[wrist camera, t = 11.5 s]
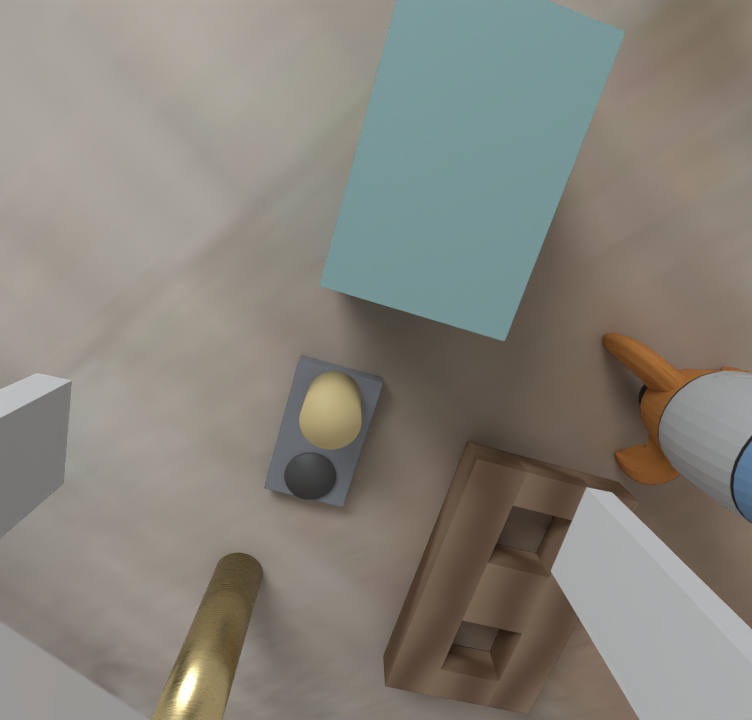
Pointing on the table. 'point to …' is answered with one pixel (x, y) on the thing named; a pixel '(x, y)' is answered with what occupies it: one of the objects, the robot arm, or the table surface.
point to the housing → (466, 155)
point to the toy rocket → (691, 426)
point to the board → (491, 585)
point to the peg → (213, 644)
